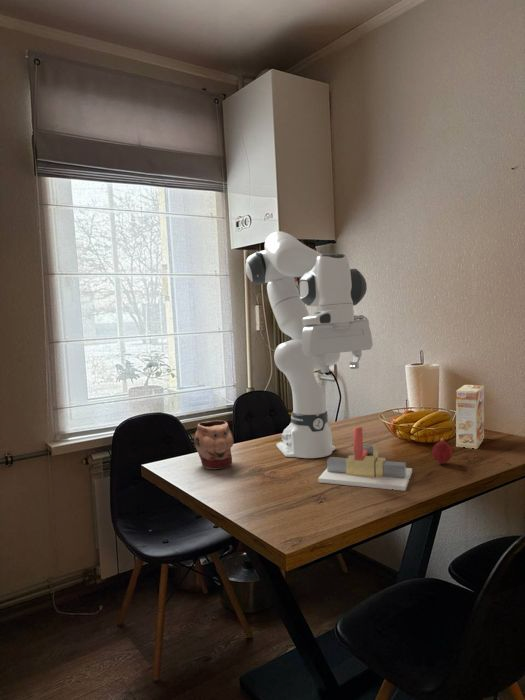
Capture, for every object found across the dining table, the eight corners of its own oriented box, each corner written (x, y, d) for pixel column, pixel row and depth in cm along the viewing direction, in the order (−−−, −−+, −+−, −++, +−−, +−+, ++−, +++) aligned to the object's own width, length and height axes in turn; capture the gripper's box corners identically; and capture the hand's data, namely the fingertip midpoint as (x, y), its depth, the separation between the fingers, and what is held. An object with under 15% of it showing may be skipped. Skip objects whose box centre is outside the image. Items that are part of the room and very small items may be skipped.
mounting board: (318, 482, 148) (318, 478, 148) (332, 465, 162) (332, 461, 162) (405, 490, 138) (405, 486, 138) (412, 472, 153) (412, 468, 153)
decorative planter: (186, 460, 174) (184, 419, 173) (219, 454, 180) (217, 414, 179) (208, 476, 157) (206, 430, 156) (245, 469, 162) (243, 425, 161)
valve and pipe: (326, 477, 152) (325, 452, 151) (331, 470, 157) (330, 447, 157) (403, 484, 143) (403, 458, 143) (406, 477, 149) (406, 452, 148)
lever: (359, 449, 153) (358, 418, 152) (374, 450, 151) (373, 418, 150) (349, 461, 141) (348, 428, 140) (365, 463, 139) (365, 429, 138)
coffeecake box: (477, 449, 174) (477, 391, 172) (455, 447, 178) (454, 390, 176) (485, 438, 187) (485, 385, 185) (464, 436, 190) (463, 384, 189)
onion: (453, 467, 156) (453, 441, 156) (433, 466, 158) (433, 440, 157) (450, 461, 162) (450, 436, 161) (431, 461, 163) (431, 436, 163)
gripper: (360, 315, 141) (363, 366, 141) (296, 319, 131) (300, 374, 131) (375, 313, 135) (379, 366, 135) (310, 317, 125) (314, 375, 126)
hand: (340, 370), depth 133 cm, fingers open, 8 cm apart
